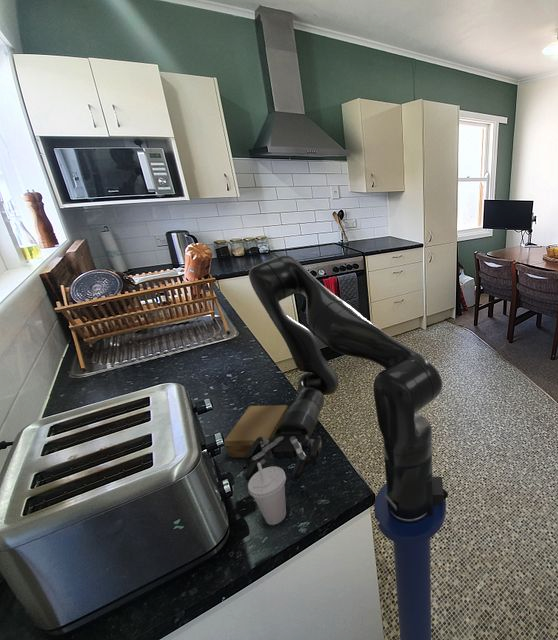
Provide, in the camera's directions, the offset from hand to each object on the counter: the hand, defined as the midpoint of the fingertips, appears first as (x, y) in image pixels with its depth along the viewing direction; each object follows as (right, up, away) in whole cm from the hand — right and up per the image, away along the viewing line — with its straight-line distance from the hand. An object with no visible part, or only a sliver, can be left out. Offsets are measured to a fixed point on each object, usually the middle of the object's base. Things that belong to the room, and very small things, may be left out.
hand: (271, 479), depth 65 cm
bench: (-12, +1, +22) cm, 25 cm away
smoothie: (0, -8, +2) cm, 8 cm away
